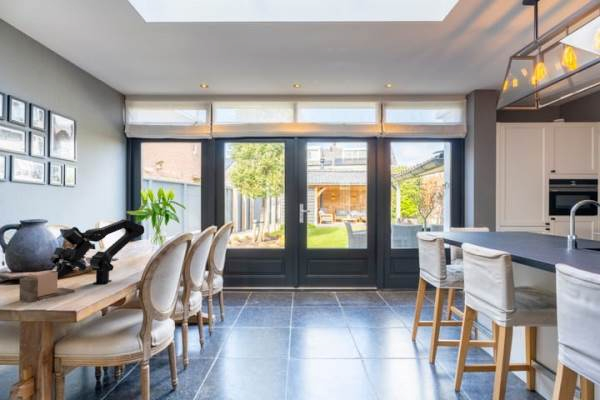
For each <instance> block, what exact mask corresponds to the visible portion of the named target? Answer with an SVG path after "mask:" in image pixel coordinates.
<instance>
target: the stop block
mask: <svg viewBox="0 0 600 400" xmlns="http://www.w3.org/2000/svg"><path fill="white" fill-rule="evenodd" d="M72 293H75V289H71V288H66V287H57V292H56V293H52V294H48V295H44V296H39V297H38V279H35V278H30V277H29V276H27V277H21V278H19V301H22V302H27V303H32V302H37V301H39V302H40V300H41V301H44V299H45V300H49V299H53V298H57V297H60V296H64V295H69V294H72ZM52 297H53V298H52ZM48 298H49V299H48Z"/></svg>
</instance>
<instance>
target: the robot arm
mask: <svg viewBox="0 0 600 400" xmlns="http://www.w3.org/2000/svg"><path fill="white" fill-rule="evenodd" d="M122 229H123V230H125V232H124V234H123V235H122V236H121V237H119V238H118V239H117V240H116V241H115V242H114V243H112V245H110V246H109V247H108V248H107V249H106V250H104V251H96V252H95V254H94V255H92V256H91V258H90V260H89V265H90V267H91V269H92V271H95V281H94V282H93V283H92V284H93V285H106V284H109V283H110V282H112V279H110V272H111V271H113V270H114V265H113V264H112V263H111V262H112V261H113V260H112V259H113V257H115V256H116V255H117V254H118V253H119V252H120V251H121V250H123V248H124V247H126V246H127V245H128V244H129V243H130V242H131V241H132V240H134V239H137V238H139V237H140V236H142V235H144V234H145V227H144V225H141V224H138V223H135V222H134V221H131V220H130V219H126V218H125V219H121V220H120V219H119V220H118V221H116V222H113V223H110V224H107V225H105V226H102V227H97V228H91V229H90V228H89V229H87V230H86V231H85V232H81V230H79V228H78V227H77V226H73V227H71V228H69V229H68V230H66V231H64V232H63V233H62V238H63V240H65V241H66V242H67V243H68V242H69V243H70V244H71V245H76V246H75V247H74V248H73V249H72V248H68V247H67V248H65V249H64V247H56V248H55V250H54V252H53V255H55V256H51V257H50V259H49V262H51V263H52V264H53V265H54V266H56V267H57V268H56V270H55V271H56V272H58V279H61V278H62V277H64V276H67V275H69V274H71V272H73V273H75V272H74V271H75V270H74V269H75V268H76V267H78V271H79V272H85V270H86V269H87V265H86V264H85V263H84V262H83V261H82V260H84V259H85V258H86V254H87V253H88V252H89V251H90V250H96V244H95V243H97V242H100V241H103V239H105V238H106V236H108V235H110V234H112V233H115V232H118V231H121V230H122ZM93 242H94V243H93ZM56 255H57V256H56ZM63 259H64V260H63ZM81 259H82V260H81Z"/></svg>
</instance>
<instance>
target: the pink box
mask: <svg viewBox="0 0 600 400" xmlns="http://www.w3.org/2000/svg"><path fill="white" fill-rule="evenodd" d="M28 277H30V278H35V279H38V297H39V296H44V295H48V294H52V293H56V292H57V288H58V272H56V270H43V271H38V272H37V271H36V272H32V273H28Z"/></svg>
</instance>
